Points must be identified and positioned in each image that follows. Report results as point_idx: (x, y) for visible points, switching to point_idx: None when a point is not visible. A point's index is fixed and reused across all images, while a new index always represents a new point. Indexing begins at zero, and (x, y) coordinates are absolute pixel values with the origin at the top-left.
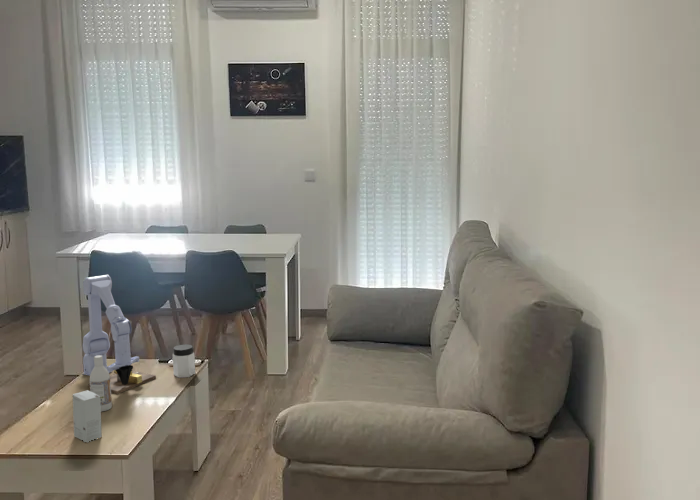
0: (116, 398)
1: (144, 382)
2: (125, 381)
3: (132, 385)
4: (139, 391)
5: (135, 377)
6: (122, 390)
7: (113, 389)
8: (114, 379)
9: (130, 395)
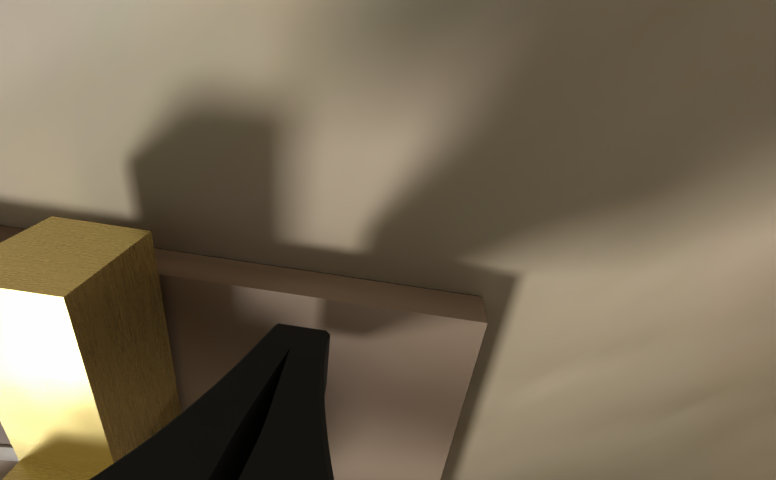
0: (642, 215)
1: (16, 231)
2: (322, 367)
3: (214, 278)
4: (281, 69)
5: (84, 325)
6: (401, 297)
7: (449, 394)
8: None
9: (482, 91)
